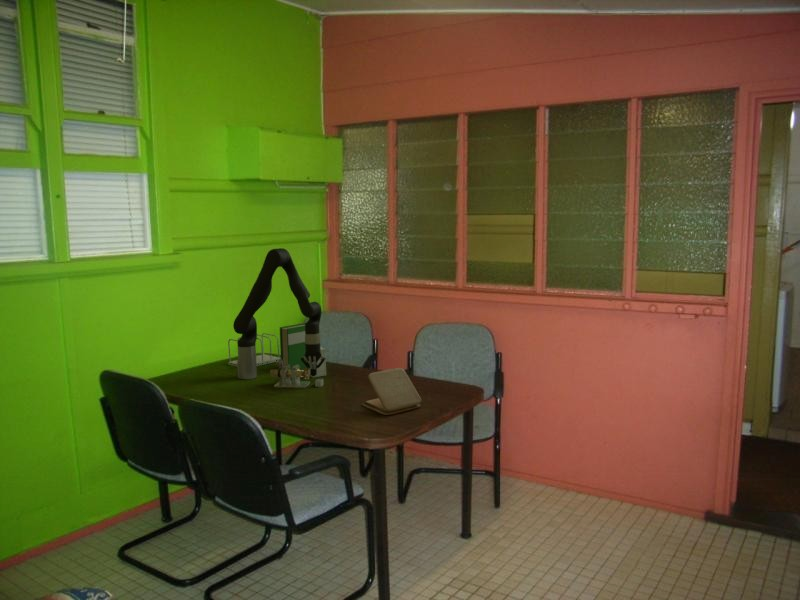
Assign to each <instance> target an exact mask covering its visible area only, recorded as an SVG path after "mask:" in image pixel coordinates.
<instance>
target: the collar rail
mask: <svg viewBox="0 0 800 600" xmlns="http://www.w3.org/2000/svg"><path fill="white" fill-rule="evenodd" d="M274 363H275V366H277V370H282V377H278V382H277V383H275V384H274V385H273V386H274V388H289V389H291V388H293V389H296V388H297V389H299V388H301V389H305V388H306V387H308V386H309V385H310V384H311V381H307V380H303V381H302V380H301V377H296V370H300V365H295V366H293V367H292V368H291V371H292V377H287V374H286V370H290V364H286V365H285V366H284V367H283V359H279V360H278V361H276V362H274ZM323 386H324V378H317V379H316V380H315V381H314V387H315V388H321V387H323ZM306 389H307V388H306Z"/></svg>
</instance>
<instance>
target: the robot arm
mask: <svg viewBox="0 0 800 600" xmlns="http://www.w3.org/2000/svg"><path fill="white" fill-rule="evenodd" d="M280 267H281V268H282V270H284V272H285V274H286V276H287V280H288V285H289V288H290V291H291V293H293V296H294V298H295V299H296V300H297V304H298V306H299V307H298V308H299V310H300V313H301V315H303V316H304V317H305V318H308V320H307V321H306V322H304V323H305V356H304V357H302V358H301V361H302V362H303V363H304V364H305V366H306V367H307V368H310V370H311V375H312V376H316V374H317V368H319V367H320V366H321V365H322V363H323V362H324V361H325V359H327V357H326V356H325V357H323V356H322V354H321V349H320V347H321V334H320V323H321V318H322V306H321V304H320V303H319V302H318V301H312V302H310V300H309V298H310V297H311V294H310V292H309V290H308V288H307V287H306V285H305V283H304V282H303V280H302V279H301V276H300V274H299V273H298V270H297V268H296V265H295V263H294V261H293V258H292V257H291V253H290V252H289V251H288V250H287V249H285V248H283V247H282V248H279V247H278V248H271V249H270V250H268V252H267V254H266V256H265V257H264V261H263V263H262V267H261V269H260V271H259V273H258V276H257V278H256V280H255V282H254V284H253V285H252V288H251V289H250V292H249V294H248V295H247V298H246V300H245V302H244V304H243V306H242V307H241V309H240V311H239V313H238V314H237V315H236V317H235V319H234V320H233V330H234V332H235V333H236V334H239V335H241V338H240V339H239V340H238V339H237V340H238V345H237V360H238V361H237V367H236V368H237V379H240V380H253V379H256V378H257V377H258V371H257V370H258V368H257V367H258V366H257V364H256V356H257V348H256V347H257V346H256V344H257V343H256V341H257V340H258V339H257V338H258V336H257V334H258V325H257V324H258V323H257V320H256V318H255V317H254V315H255V314H256V312H258V311H259V310H260V309H261V308H262V306H263V305H264V304H265V303H266V302H267V300H268V298H269V296H270V295H271V292H272V289H273V277H274V274H275V273H276V271H277V270H278V268H280ZM320 358H321V359H320ZM306 359H307V360H308V361H309V363H308V362H307V361H306ZM319 359H320V360H321V362H320V363H319V364H318V365H317V361H318V360H319Z"/></svg>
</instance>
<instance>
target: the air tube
mask: <svg viewBox="0 0 800 600" xmlns="http://www.w3.org/2000/svg"><path fill="white" fill-rule="evenodd" d="M286 374H287V377H291V378H292V371H291V370H286ZM269 376H270V378H271V377H272V378H273V377H274V378H279V377H282V370H278V369H270V371H269ZM296 377H300V378H304V380H310V377H311V376H310V369H309V368H305V369H301V370H296Z"/></svg>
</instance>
